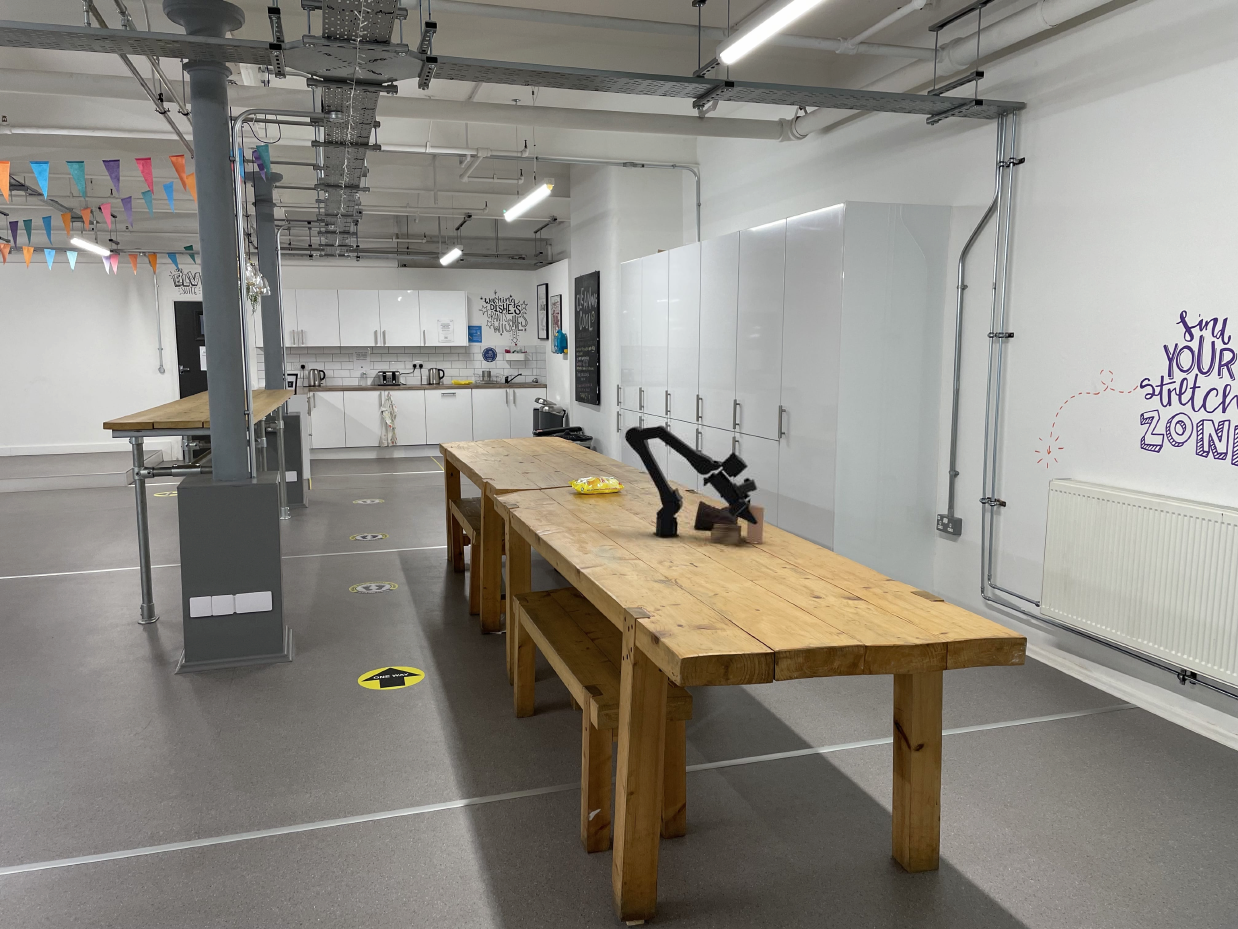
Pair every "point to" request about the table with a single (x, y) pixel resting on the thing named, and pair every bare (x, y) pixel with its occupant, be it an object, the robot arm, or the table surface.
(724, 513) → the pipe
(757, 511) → the clay block
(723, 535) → the rack
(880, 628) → the table surface
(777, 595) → the table surface
